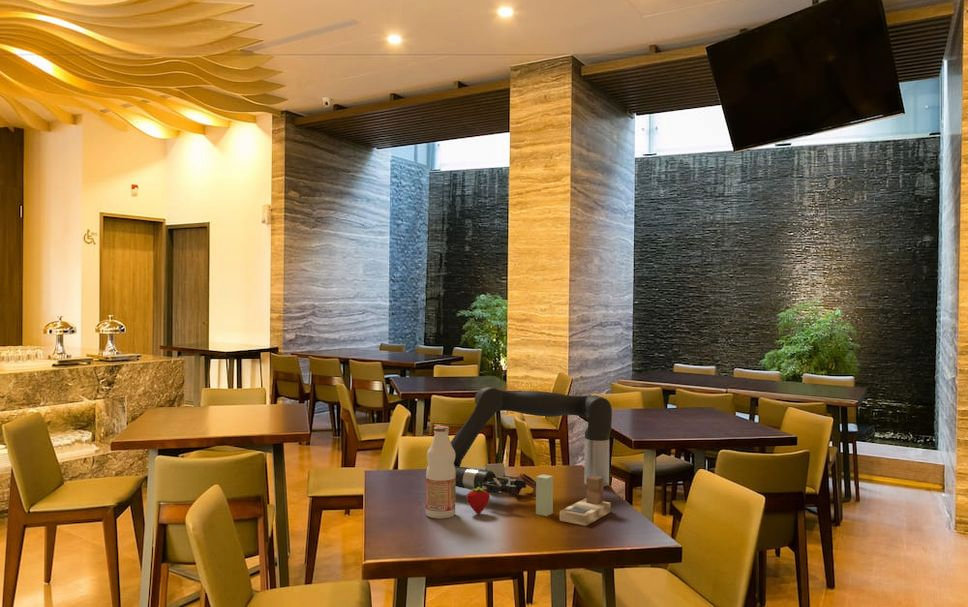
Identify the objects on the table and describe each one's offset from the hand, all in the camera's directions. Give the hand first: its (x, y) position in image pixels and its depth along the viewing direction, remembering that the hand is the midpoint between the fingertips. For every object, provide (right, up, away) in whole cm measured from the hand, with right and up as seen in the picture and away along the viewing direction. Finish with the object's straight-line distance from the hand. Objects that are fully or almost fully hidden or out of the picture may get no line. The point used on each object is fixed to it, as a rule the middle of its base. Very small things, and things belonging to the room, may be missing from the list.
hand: (519, 487), depth 227 cm
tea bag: (-8, -7, +21) cm, 24 cm away
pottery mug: (+2, -8, +17) cm, 19 cm away
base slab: (+21, -7, -8) cm, 23 cm away
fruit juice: (-25, -7, -8) cm, 28 cm away
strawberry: (-14, -7, -7) cm, 17 cm away
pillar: (+8, -7, -6) cm, 12 cm away
